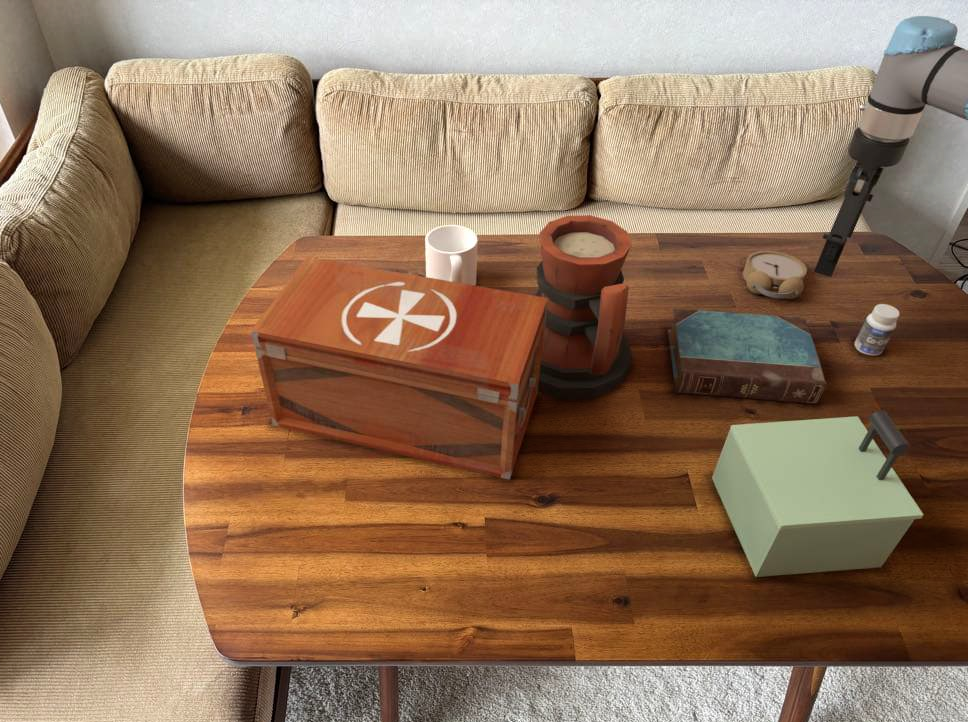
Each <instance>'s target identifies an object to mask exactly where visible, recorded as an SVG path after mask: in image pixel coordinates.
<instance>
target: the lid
mask: <svg viewBox="0 0 968 722" xmlns="http://www.w3.org/2000/svg"><path fill="white" fill-rule="evenodd" d="M868 421H869V422H870V424H871V425H870V427H869V428H868V429H867V428H866V426H865V425H864V424H863V422H862V420H861V419H860V417H859V416H858V415H857V416H846V417H845V416H844V417H843V416H841V417H831V418H830V417H828V418H814V419H801V420H785V421H771V422H758V423H757V422H756V423H755V422H754V423H743V424H731V425H730V429H729V431H730V430H731V432H732V434H733V436H734V438H735V440H736V442H737V444H738V446H739V448H740V450H741V452H742V454H743V456H744V458H745V460H746V462H747V464H748V466H749V468H750V470H751V472H752V474H753V476H754V478H755V480H756V482H757V484H758V486H759V488H760V490H761V492H762V494H763V496H764V498H765V500H766V502H767V504H768V506H769V508H770V510H771V512H772V515H773V517H774V519H775V521H776V523H777V525H778V527H779V529H791V528H805V527H818V526H831V525H844V524H857V523H870V522H883V521H896V520H909V519H915V520H920V519H922V518H923V517H924V513H923V511H922V510H921V508H920V507H919V505H918V504H917V503H916V501H915V500H914V498H913V496H911V494H910V493H909V491H908V489H907V488H906V486H905V485H904V483H903V482H902V480H901V478H900V477H899V476H898V474H897V473H896V471H895V470H894V468H893V466H894V465H895V463H896V461H897V460H898V458H899V457H900V456H902V455H904V454H906V453H907V452H909V450H910V449H911V445H910V444H909V442H908V441H907V440H906V438H905V437H904V435H903V434H902V433H901V431H900V429H899V428H898V427H897V426H896V424H895V422H894V421H893V419H892V418H891V417H890V416H889V414H888V412H887V411H886V410H876V411H875V412H872V414H871V415H869V418H868ZM876 434H878V435H879V437H880V438H881V440H882V441H883V443H884V444H885V446H886V448H888V450H889V455H888V456H887V458H886V456H885V455H884V453H883V452H882V450H881V449H880V448H879V446H878V445H877V443H876V441H875V439H874V438H875V436H876Z"/></svg>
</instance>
